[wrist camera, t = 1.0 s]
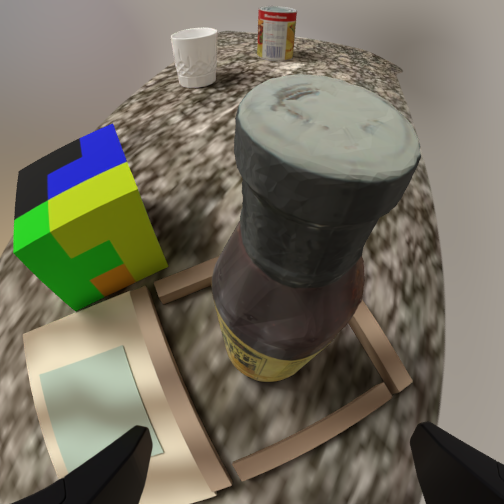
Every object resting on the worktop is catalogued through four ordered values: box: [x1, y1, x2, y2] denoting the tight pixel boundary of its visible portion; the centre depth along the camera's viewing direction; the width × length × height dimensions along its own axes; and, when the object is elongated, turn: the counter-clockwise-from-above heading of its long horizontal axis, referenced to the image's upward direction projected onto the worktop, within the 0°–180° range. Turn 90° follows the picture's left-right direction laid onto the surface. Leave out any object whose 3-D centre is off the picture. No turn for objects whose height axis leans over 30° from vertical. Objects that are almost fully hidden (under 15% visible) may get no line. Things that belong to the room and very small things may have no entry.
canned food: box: [257, 6, 297, 61], centre depth 50 cm, size 8×8×12 cm
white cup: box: [171, 28, 217, 88], centre depth 43 cm, size 8×8×10 cm
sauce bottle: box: [212, 75, 421, 382], centre depth 14 cm, size 7×6×20 cm
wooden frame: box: [23, 256, 413, 504], centre depth 20 cm, size 18×30×2 cm, turn 116°
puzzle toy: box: [14, 124, 169, 311], centre depth 23 cm, size 10×10×10 cm
